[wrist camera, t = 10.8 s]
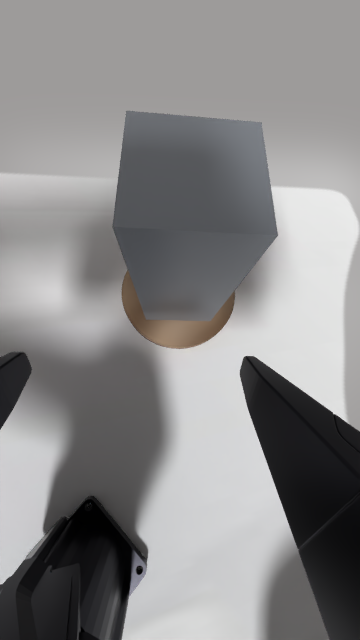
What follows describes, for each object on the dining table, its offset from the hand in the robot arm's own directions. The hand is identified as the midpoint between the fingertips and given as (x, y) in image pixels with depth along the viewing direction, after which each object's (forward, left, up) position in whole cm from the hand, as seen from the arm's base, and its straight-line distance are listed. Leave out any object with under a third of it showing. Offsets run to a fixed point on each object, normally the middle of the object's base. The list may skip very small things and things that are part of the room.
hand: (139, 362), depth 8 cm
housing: (+4, -7, -9) cm, 12 cm away
